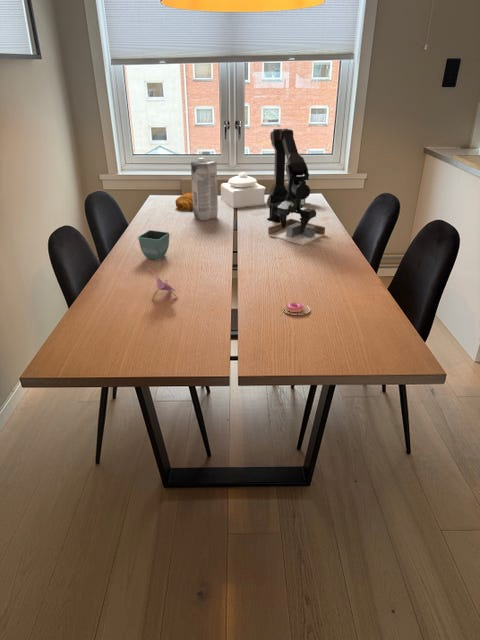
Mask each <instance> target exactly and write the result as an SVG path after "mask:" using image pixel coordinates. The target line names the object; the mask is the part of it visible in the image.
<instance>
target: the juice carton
mask: <svg viewBox="0 0 480 640" xmlns="http://www.w3.org/2000/svg"><path fill="white" fill-rule="evenodd" d="M217 165H218V164H217V162H216V161H212V160H210V159H205V157H198V158H197V161H194V160H193V161H191V162H190V170H191V171H190V173H191V193H192V196H193V211H192V212H193V217H194V218H196V219H198V220H200V221H207V220H213V219H216V218H218V211H219V209H218V207H219V206H218V205H219V204H218V173H217V172H218V169H217V168H218V167H217Z"/></svg>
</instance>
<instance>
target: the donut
mask: <svg viewBox="0 0 480 640" xmlns="http://www.w3.org/2000/svg"><path fill="white" fill-rule="evenodd" d="M286 305H287V306H286V309H287V310H285V309H284V310H285V311H286V312H285V311H284V310H282V311H283V312H284V313H286V314H288V315H292V316H303V315H306V314H308V313H310V312H311V308H310V307H309V306H307V305H306V306H307V307H308V309H309V311H308V312H307V313H305V312H304V313H305V314H300V313H302V311H303V309H304V306H303V305H304V304H302V305H301V303H298V302H290V303H288V304H286ZM289 311H290V312H289ZM287 312H288V313H287ZM292 312H298V313H292ZM289 313H291V314H289ZM297 314H298V315H297Z"/></svg>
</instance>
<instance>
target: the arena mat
mask: <svg viewBox="0 0 480 640" xmlns="http://www.w3.org/2000/svg"><path fill="white" fill-rule="evenodd" d="M286 230H287V228H286V229H283V230H281V231H278V232H276V233H273V234H271V235H270V234H267V235H268V236H269V237H272V238H275V239H276V238H277V239H279V240H282V241H288V242H290V243H294V244H297V245H300V246H304V245H306V244H308V243H310V242H313V241H316V240H318V239H319V238H322V237H324V236H325V234H323V235H322V234H318V233H315V236H313V237H311V238H310V237H306V236H303V235H297V236H294V237H289V236H286Z"/></svg>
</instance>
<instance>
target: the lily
mask: <svg viewBox="0 0 480 640" xmlns="http://www.w3.org/2000/svg"><path fill="white" fill-rule="evenodd" d="M148 269H149V270H151V272H153V274H154V275H155V276H153V278H154V279H155V280H156V287H157V289H156V291H155V293H154V295H153V297H152V300H151V302H154V298H155V297H156V294H157V293H158V291H166V292H168V293H171V294H173V295H174V296H175V297H176V298H178V297H177V296H176V295H177V294H175V293H174V292H175V291H176V290H175V288H173V287H172V286H171V285H170V284H168V280H166V279H165V280H164V281H162V279H161V278H159V275H158V274H157V273H156V272H155V271H154V270H153V269H151V268H150V267H149V266H148Z"/></svg>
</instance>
